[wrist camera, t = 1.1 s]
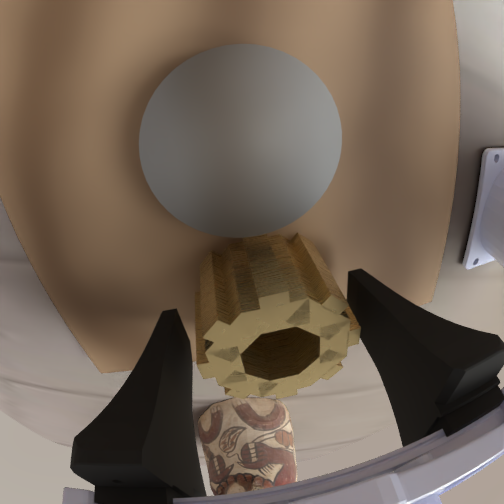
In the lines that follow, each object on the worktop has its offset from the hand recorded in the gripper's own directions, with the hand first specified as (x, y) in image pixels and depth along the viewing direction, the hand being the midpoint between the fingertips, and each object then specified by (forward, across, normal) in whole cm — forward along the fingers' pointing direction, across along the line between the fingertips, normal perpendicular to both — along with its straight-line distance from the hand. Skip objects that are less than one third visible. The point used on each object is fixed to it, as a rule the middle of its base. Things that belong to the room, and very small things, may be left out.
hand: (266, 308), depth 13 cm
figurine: (+3, +3, +14) cm, 15 cm away
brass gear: (+1, 0, 0) cm, 1 cm away
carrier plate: (+3, 0, -7) cm, 7 cm away
